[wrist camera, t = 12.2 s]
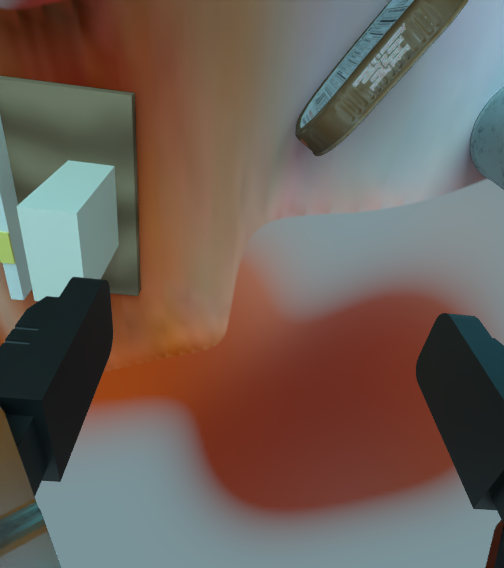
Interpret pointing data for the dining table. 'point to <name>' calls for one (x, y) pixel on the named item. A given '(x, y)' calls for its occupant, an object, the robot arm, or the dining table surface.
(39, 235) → the carton
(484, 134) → the grey stone cylinder
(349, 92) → the tin
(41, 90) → the shelf board
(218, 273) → the dining table surface
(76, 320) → the robot arm
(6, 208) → the rail
